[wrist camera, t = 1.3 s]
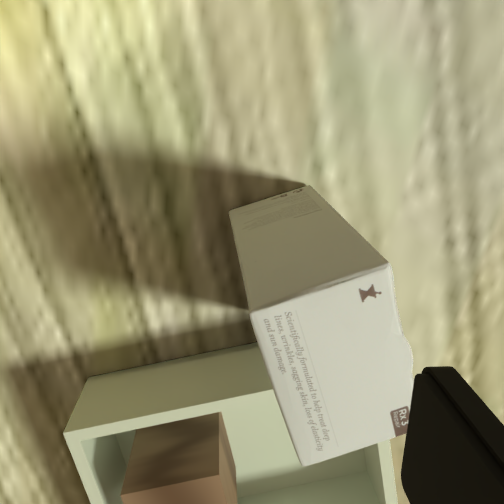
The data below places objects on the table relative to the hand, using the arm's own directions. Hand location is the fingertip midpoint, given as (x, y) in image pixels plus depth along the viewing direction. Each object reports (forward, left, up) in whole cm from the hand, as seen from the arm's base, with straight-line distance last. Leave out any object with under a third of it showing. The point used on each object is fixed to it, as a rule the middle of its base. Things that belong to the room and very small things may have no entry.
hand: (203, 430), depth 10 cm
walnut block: (+6, +17, -21) cm, 28 cm away
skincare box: (-4, +4, -23) cm, 23 cm away
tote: (+2, +17, -22) cm, 28 cm away
